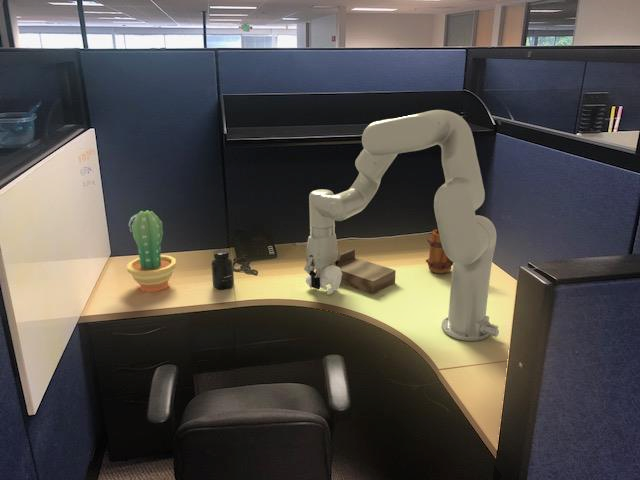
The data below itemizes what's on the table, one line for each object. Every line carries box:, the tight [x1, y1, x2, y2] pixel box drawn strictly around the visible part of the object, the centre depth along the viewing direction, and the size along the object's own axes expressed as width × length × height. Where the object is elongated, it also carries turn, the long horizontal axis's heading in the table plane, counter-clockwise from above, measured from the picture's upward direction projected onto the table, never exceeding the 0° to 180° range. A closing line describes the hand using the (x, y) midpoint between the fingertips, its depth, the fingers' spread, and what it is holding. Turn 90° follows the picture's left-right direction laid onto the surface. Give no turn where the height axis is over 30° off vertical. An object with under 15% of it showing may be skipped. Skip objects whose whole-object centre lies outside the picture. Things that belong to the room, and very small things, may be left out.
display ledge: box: [337, 248, 397, 295], centre depth 169 cm, size 18×12×8 cm, turn 47°
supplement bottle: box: [210, 248, 235, 291], centre depth 165 cm, size 7×7×12 cm
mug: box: [425, 229, 453, 274], centre depth 174 cm, size 15×8×15 cm, turn 62°
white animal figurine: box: [305, 265, 342, 295], centre depth 162 cm, size 6×8×12 cm
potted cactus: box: [126, 209, 177, 293], centre depth 164 cm, size 15×15×25 cm
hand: (323, 284), depth 163 cm, fingers closed on white animal figurine, 6 cm apart
